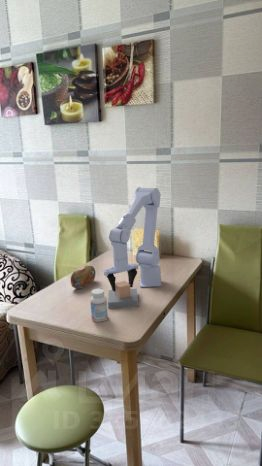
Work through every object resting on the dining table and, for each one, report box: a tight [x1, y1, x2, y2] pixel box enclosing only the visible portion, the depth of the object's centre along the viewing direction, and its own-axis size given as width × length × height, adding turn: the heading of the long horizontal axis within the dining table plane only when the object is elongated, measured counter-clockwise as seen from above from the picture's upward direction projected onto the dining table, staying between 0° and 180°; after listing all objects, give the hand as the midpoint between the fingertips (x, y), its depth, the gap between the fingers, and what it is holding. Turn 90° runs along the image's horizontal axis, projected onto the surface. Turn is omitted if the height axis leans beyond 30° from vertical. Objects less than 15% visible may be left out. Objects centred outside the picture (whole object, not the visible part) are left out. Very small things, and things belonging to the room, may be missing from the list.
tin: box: [70, 265, 96, 290], centre depth 164 cm, size 15×3×8 cm, turn 147°
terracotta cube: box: [115, 280, 131, 299], centre depth 146 cm, size 5×5×5 cm
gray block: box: [107, 288, 139, 309], centre depth 147 cm, size 12×12×3 cm
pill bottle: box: [89, 288, 109, 323], centre depth 132 cm, size 6×6×11 cm
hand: (122, 288), depth 146 cm, fingers open, 7 cm apart
